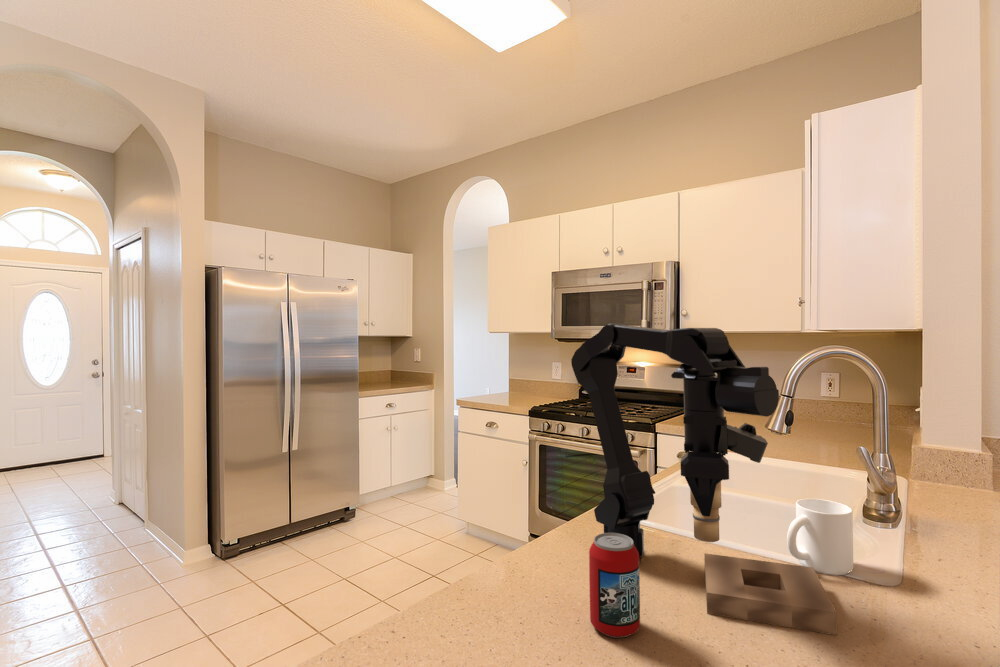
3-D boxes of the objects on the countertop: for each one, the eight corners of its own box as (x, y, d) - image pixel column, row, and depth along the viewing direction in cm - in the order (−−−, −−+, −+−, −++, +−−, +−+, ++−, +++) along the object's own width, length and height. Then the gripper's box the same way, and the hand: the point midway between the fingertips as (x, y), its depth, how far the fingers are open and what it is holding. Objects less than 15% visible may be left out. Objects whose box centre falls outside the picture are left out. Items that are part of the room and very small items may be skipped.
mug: (809, 583, 81) (808, 519, 81) (768, 561, 89) (767, 503, 89) (865, 572, 84) (864, 511, 84) (821, 552, 92) (820, 496, 92)
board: (707, 613, 72) (706, 592, 72) (704, 570, 86) (704, 553, 86) (837, 635, 67) (836, 612, 67) (813, 586, 80) (812, 567, 80)
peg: (690, 540, 76) (689, 474, 76) (691, 530, 80) (690, 467, 80) (722, 544, 74) (721, 476, 74) (721, 534, 78) (720, 469, 78)
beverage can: (611, 647, 65) (610, 554, 65) (580, 621, 71) (579, 536, 71) (651, 633, 68) (649, 543, 68) (617, 609, 74) (616, 527, 74)
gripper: (769, 420, 66) (772, 540, 65) (756, 403, 83) (759, 498, 83) (679, 416, 70) (681, 529, 70) (684, 401, 87) (687, 492, 87)
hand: (706, 510), depth 77 cm, fingers closed on peg, 4 cm apart
